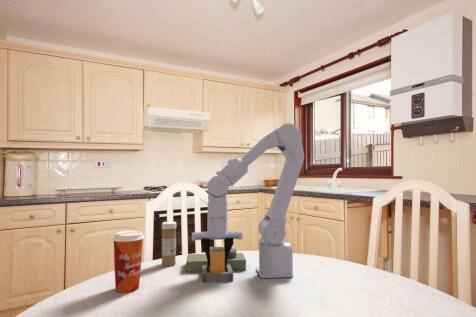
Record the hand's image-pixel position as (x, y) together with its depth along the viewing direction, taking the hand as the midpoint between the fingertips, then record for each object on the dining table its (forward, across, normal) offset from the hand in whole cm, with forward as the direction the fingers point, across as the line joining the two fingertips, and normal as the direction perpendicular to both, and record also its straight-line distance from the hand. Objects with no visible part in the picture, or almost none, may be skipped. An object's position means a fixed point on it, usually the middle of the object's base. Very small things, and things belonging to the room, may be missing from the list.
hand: (217, 264), depth 84 cm
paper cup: (+3, -23, -7) cm, 24 cm away
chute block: (+2, 0, 0) cm, 2 cm away
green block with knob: (+3, 0, +3) cm, 4 cm away
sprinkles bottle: (+3, -15, +12) cm, 19 cm away
